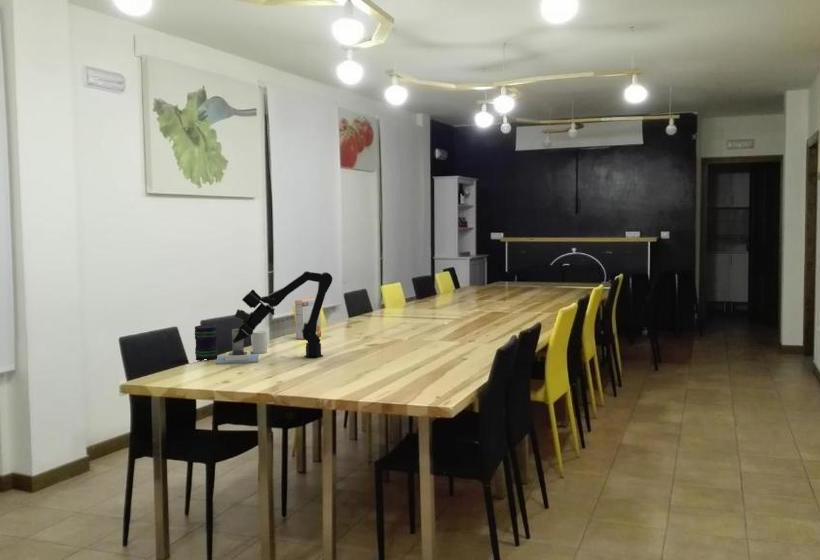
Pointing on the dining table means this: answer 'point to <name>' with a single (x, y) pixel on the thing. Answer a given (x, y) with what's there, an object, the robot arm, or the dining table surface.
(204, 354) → the storage jar
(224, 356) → the blue square board
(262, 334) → the white cup
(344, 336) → the dining table surface
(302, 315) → the cracker box
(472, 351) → the dining table surface
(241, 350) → the shaft
